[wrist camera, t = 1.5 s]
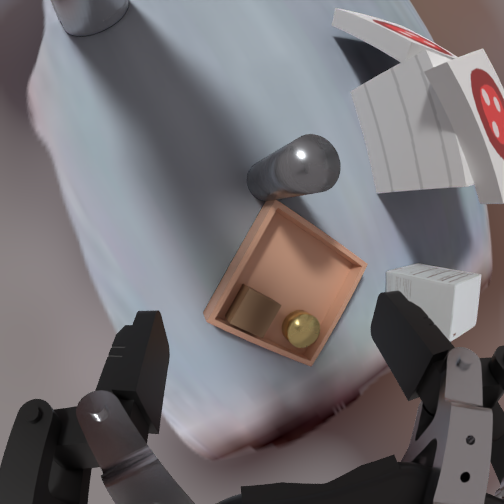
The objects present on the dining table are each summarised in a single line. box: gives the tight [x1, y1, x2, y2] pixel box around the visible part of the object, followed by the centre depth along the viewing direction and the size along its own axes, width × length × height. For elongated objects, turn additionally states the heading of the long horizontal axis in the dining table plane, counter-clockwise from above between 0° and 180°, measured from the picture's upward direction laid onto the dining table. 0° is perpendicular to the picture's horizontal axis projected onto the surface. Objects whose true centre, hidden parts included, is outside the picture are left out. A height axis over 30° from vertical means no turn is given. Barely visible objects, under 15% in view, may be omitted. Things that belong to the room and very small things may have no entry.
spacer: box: [247, 134, 340, 201], centre depth 26 cm, size 5×5×11 cm
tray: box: [203, 199, 367, 366], centre depth 32 cm, size 14×14×3 cm
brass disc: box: [282, 310, 320, 348], centre depth 32 cm, size 4×4×2 cm
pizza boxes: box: [332, 8, 504, 204], centre depth 27 cm, size 19×30×18 cm, turn 14°
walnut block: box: [225, 284, 282, 338], centre depth 30 cm, size 4×4×2 cm
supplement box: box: [386, 263, 481, 341], centre depth 33 cm, size 7×7×13 cm
